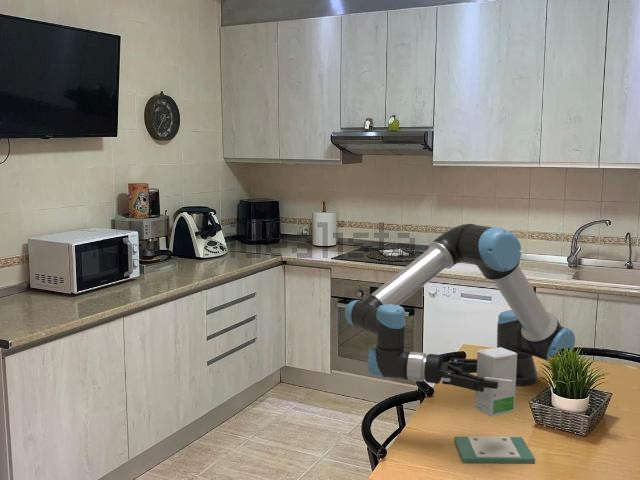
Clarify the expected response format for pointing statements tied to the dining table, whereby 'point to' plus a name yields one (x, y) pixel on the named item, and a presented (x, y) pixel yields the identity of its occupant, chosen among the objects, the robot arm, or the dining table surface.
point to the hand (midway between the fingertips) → (513, 378)
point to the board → (493, 450)
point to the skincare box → (496, 366)
